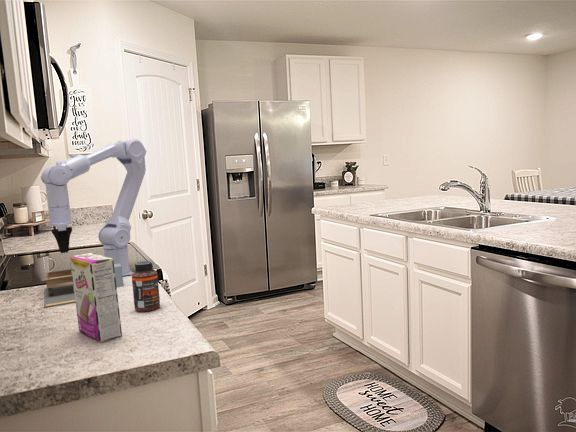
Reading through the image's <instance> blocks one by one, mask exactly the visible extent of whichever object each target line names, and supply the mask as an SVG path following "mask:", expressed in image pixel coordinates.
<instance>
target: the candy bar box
mask: <svg viewBox="0 0 576 432" xmlns="http://www.w3.org/2000/svg"><path fill="white" fill-rule="evenodd" d="M69 264H70V269H71V272H72V280H73V287H74V294H75V302H76V303H75V308H76V310H75V311H76V316H77V324H78V330H79V332H81V333H83V334H85V335H86V336H88V337H89V338H92V339H94V340H95V341H97V342H99V343H104V342H107V341H111V340H114V339H116V338H119V337H122V336H123V333H122V323H121V316H120V315H121V314H120V307H119V298H118V297H119V296H118V289H117V288H118V287H116V279H115V271H114V262H113V258H109V257H105V256H104V255H101V254H98V253H93V252H87V253H81V254H76V255H72V256H70V257H69Z"/></svg>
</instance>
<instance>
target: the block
mask: <svg viewBox="0 0 576 432" xmlns="http://www.w3.org/2000/svg"><path fill="white" fill-rule="evenodd" d="M114 271H115V279H116V287H117V288H120V287H125V286H124V285H125V284H124V276H123V274H122V266H121V265H120V264H114Z"/></svg>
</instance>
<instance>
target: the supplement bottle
mask: <svg viewBox="0 0 576 432" xmlns="http://www.w3.org/2000/svg"><path fill="white" fill-rule="evenodd" d="M134 269H135V270H134V271H133V272H132V273H133V274H132V275H131V283H132V284H131V285H132V295H133V305H134V309H135V311H137V312H143V313H144V312H151V311H155V310H157V309H159V307H160V306H161V303H160V300H161V299H160V286H159V277H158V272H157V271H156V270H155V269H154V268H153V261H151V260H143V261H142V260H141V261H137V262H136V263H135V262H134Z"/></svg>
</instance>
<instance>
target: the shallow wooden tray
mask: <svg viewBox="0 0 576 432" xmlns="http://www.w3.org/2000/svg"><path fill="white" fill-rule="evenodd" d="M45 283H46V284H45V285H46V288H48V293H49V296H50V295H53V291H52V289H53V287H60V286H66V285H72V284H73V280H72V272H71V268H70V269H63V270H56V271H50V272H46V273H45Z"/></svg>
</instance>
